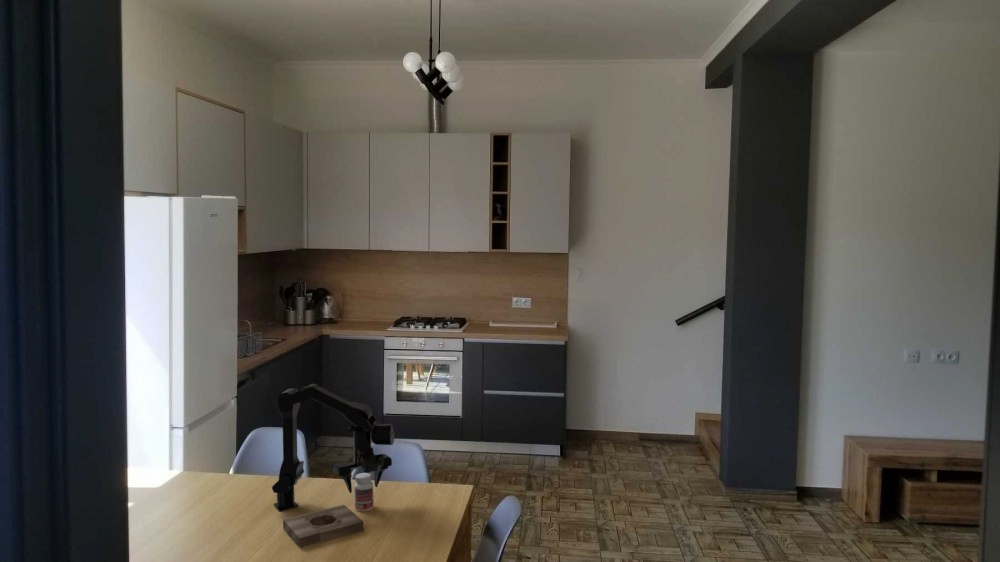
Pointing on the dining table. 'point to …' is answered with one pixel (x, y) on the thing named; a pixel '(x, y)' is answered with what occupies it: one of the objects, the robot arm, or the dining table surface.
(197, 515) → the dining table surface
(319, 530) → the socket board
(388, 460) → the robot arm
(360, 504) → the pill bottle
